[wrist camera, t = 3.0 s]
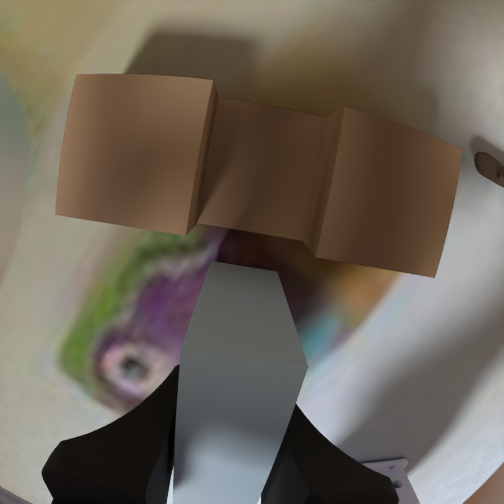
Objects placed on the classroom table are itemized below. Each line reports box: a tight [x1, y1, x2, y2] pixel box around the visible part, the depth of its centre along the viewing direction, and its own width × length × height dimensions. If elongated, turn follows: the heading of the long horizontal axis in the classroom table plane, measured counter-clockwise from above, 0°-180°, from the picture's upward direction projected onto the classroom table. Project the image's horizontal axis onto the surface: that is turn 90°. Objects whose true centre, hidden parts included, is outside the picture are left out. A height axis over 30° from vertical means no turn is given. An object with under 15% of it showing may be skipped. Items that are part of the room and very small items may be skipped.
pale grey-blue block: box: [173, 261, 308, 504], centre depth 11 cm, size 3×9×7 cm, turn 170°
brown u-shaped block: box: [55, 74, 462, 278], centre depth 11 cm, size 14×5×4 cm, turn 80°
